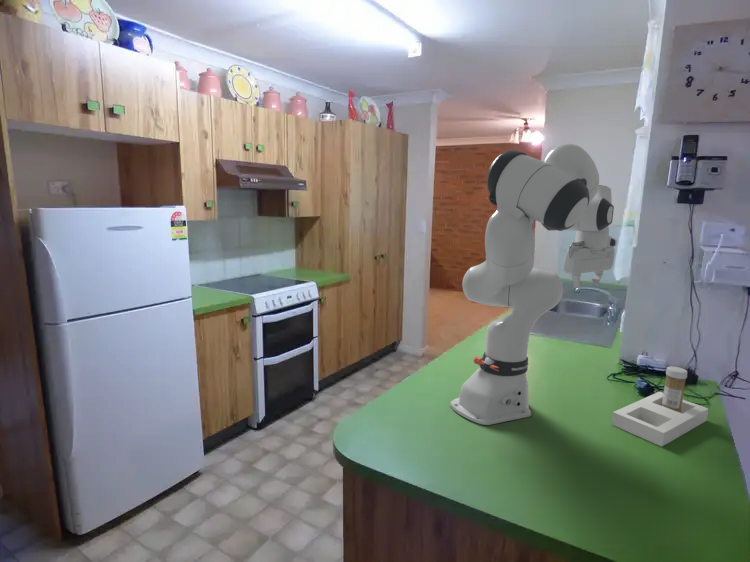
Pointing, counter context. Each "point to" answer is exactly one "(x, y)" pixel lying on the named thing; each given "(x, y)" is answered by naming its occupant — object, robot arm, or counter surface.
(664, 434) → the bottle stand
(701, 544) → the counter surface
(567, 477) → the counter surface
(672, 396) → the sprinkles bottle
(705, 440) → the counter surface
